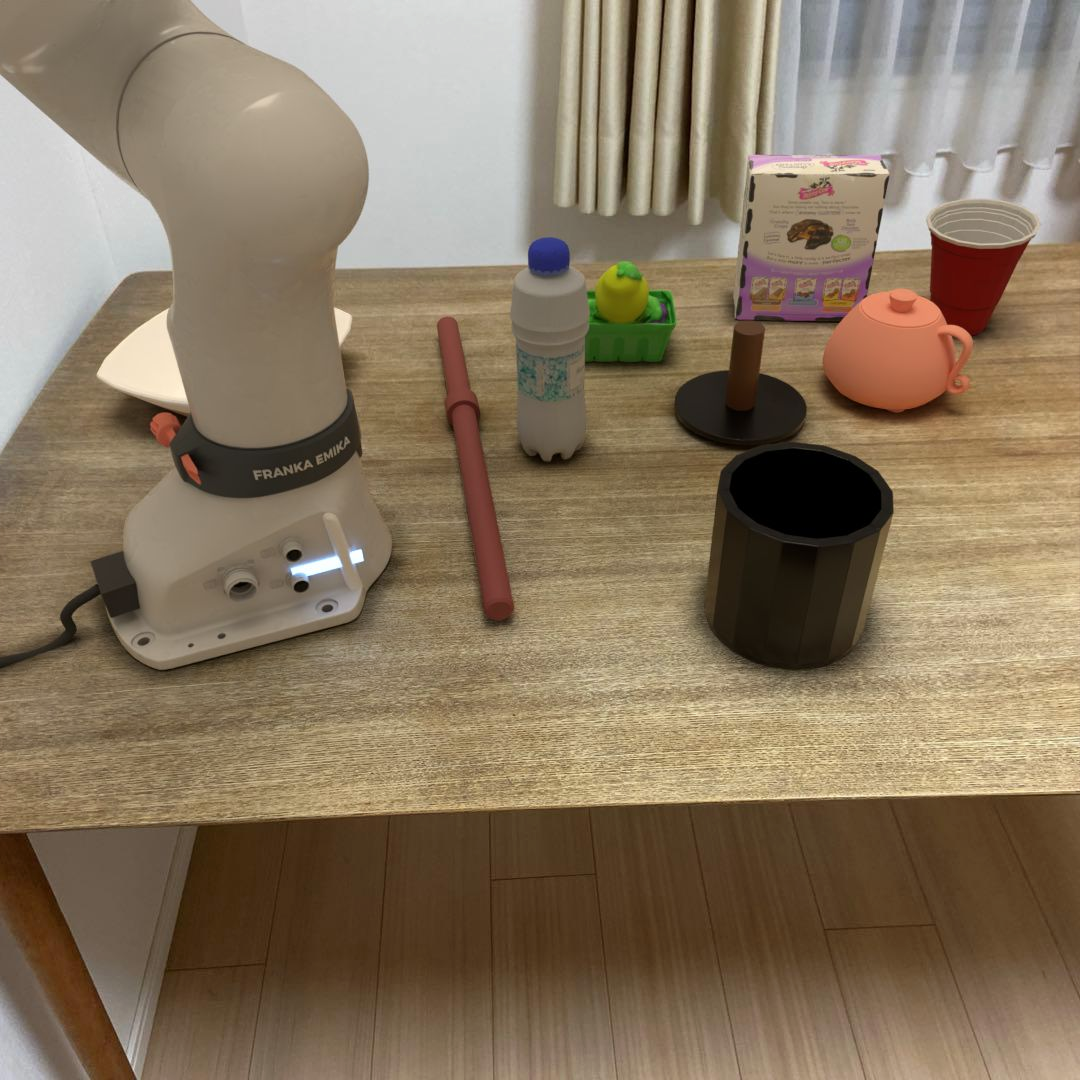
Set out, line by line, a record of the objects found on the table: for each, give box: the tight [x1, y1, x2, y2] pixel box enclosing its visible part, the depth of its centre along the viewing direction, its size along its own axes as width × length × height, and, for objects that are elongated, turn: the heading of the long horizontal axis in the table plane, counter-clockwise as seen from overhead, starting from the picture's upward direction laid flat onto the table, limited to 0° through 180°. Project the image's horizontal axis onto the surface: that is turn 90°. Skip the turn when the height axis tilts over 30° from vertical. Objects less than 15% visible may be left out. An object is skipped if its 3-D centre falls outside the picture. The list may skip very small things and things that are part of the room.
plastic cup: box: [925, 197, 1042, 337], centre depth 106 cm, size 11×11×12 cm
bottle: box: [509, 236, 590, 462], centre depth 87 cm, size 7×7×20 cm
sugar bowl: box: [821, 288, 974, 413], centre depth 97 cm, size 12×14×10 cm
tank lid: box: [673, 320, 808, 446], centre depth 95 cm, size 12×12×9 cm
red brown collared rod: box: [436, 316, 515, 621], centre depth 92 cm, size 45×3×3 cm, turn 9°
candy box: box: [732, 154, 891, 322], centre depth 108 cm, size 14×6×16 cm, turn 84°
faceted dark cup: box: [703, 441, 895, 670], centre depth 73 cm, size 12×12×12 cm
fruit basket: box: [585, 260, 678, 363], centre depth 103 cm, size 11×9×11 cm
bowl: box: [96, 306, 353, 417], centre depth 101 cm, size 22×22×5 cm
